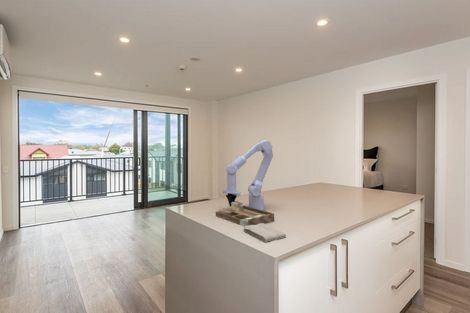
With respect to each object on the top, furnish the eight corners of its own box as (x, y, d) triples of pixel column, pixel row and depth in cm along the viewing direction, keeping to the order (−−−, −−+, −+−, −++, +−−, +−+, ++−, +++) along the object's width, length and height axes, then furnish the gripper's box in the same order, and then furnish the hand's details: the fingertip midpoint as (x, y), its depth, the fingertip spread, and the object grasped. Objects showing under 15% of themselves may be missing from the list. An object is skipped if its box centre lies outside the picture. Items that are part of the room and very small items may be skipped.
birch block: (237, 207, 151) (237, 201, 151) (243, 209, 147) (243, 202, 147) (231, 208, 148) (231, 202, 148) (236, 210, 144) (236, 203, 144)
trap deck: (239, 210, 153) (239, 204, 152) (274, 221, 131) (274, 213, 131) (215, 216, 141) (215, 209, 141) (249, 228, 120) (249, 219, 119)
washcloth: (261, 227, 122) (261, 221, 122) (287, 238, 107) (287, 231, 107) (241, 231, 116) (241, 225, 116) (265, 244, 101) (265, 236, 101)
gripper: (219, 183, 154) (219, 205, 154) (233, 186, 143) (234, 209, 143) (228, 182, 159) (228, 203, 159) (243, 184, 147) (243, 207, 148)
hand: (231, 206), depth 151 cm, fingers closed
